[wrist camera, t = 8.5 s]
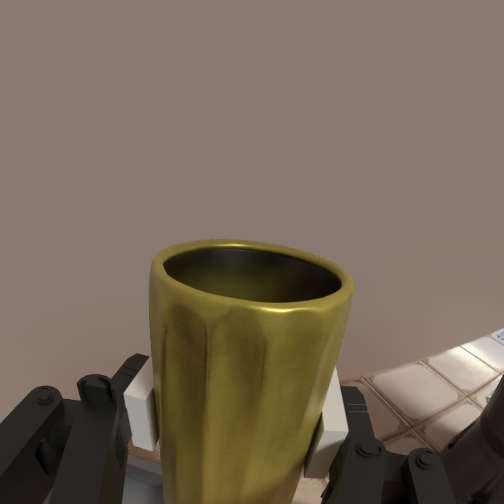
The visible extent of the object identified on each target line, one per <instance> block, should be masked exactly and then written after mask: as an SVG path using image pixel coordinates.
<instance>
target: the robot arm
mask: <svg viewBox="0 0 504 504" xmlns="http://www.w3.org/2000/svg"><path fill="white" fill-rule="evenodd" d="M77 386H78V391H79V395H80V398H81V401H78V400H70V399H63V398H62V396H61V394H60V392H59V391H58V390H57V389H56V388H54V387H51V386H40V387H37V388H35V389H33V390H32V391H31V392H30V393H29V394H28V395H27V396H26V397H25V398H24V399H23V400H22V401H21V402H20V403H19V404H18V405H17V406H16V407H15V409H14V410H13V411H12V412H11V413H10V414H9V415H8V416H7V417H6V418H5V419H4V420H3V422H2V423H1V424H0V504H43V502H44V501H45V499H46V497H47V496H48V494H49V493H50V491H51V489H52V488H53V489H52V493H51V496H50V500H49V504H122V499H123V490H124V481H125V473H126V466H127V459H128V447H127V444H128V442H129V440H130V439H131V437H132V441H133V445H134V446H137V447H140V448H143V449H146V450H149V451H153V450H154V448H155V446H156V444H157V441H158V439H159V431H158V421H157V412H156V403H155V394H154V382H153V368H152V354H151V356H150V357H149V356H145V355H141V354H135V355H133V356H131V357H130V358H128V359H127V360H126V361H125V362H124V364H123V365H122V367H120V369H119V370H118V371H117V373H115V375H114V376H113V377H112V378H111V379H110V378H108V377H107V376H104V375H100V374H91V375H87V376H85V377H83V378H81V379H80V380H79V381H78V382H77ZM365 404H366V403H365V400H364V396H363V394H362V393H361V392H360V391H359V390H358V388H357V387H350V386H340V385H339V380H338V375H337V371H336V366H335V368H334V371H333V375H332V378H331V382H330V385H329V388H328V392H327V396H326V399H325V403H324V406H323V409H322V412H321V416H320V419H319V422H318V425H317V428H316V431H315V434H314V437H313V439H312V442H311V445H310V448H309V451H308V453H307V456H306V459H305V462H304V478H323V479H325V477H326V475H327V474H328V472H329V476H330V481H329V483H328V485H327V486H326V488H325V490H324V491H323V493H322V495H321V496H320V497H322V502H321V504H504V374H503V376H502V378H501V380H500V382H499V384H498V386H497V387H496V389H495V391H494V393H493V395H492V396H491V398H490V400H489V402H488V404H487V405H486V407H485V409H484V410H483V412H482V413H481V415H480V416H479V417H478V418H477V419H475V420H474V421H473V422H472V423H471V424H470V425H468V426H467V427H466V428H465V429H464V430H462V431H461V432H460V433H459V434H457V435H456V436H455V437H454V438H453V439H451V440H450V441H449V443H448V444H447V445H446V446H445V447H444V449H443V450H442V452H441V453H440V454H439V455H438V454H437V453H436V452H435V451H433V450H431V449H428V448H418V449H415V450H413V451H412V452H410V454H409V455H408V456H406V455H401V454H396V453H392V452H389V451H387V450H386V448H385V447H384V445H383V444H382V443H381V442H380V441H379V440H377V439H375V437H374V433H373V429H372V425H371V421H370V418H369V414H368V413H367V407H366V405H365Z"/></svg>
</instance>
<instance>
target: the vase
mask: <svg viewBox="0 0 504 504" xmlns="http://www.w3.org/2000/svg"><path fill="white" fill-rule="evenodd" d="M149 278H150V279H149V316H150V317H149V319H150V340H151V354H152V368H153V382H154V394H155V403H156V412H157V421H158V431H159V443H160V454H161V469H162V483H163V496H164V502H165V504H291V502H292V499H293V496H294V494H295V491H296V488H297V485H298V482H299V479H300V476H301V473H302V471H303V468H304V462H305V459H306V456H307V453H308V451H309V448H310V445H311V442H312V439H313V437H314V434H315V431H316V428H317V425H318V422H319V419H320V416H321V412H322V409H323V406H324V403H325V399H326V396H327V392H328V388H329V385H330V382H331V378H332V375H333V371H334V368H335V365H336V361H337V358H338V355H339V351H340V347H341V344H342V340H343V336H344V332H345V328H346V324H347V320H348V315H349V311H350V307H351V302H352V297H353V293H354V282H353V280H352V277H351V276H350V274H349V273H348V272H347V271H345V270H344V269H343V268H342V267H341V266H339V265H338V264H336V263H334V262H332V261H330V260H327V259H325V258H323V257H320V256H318V255H314V254H312V253H310V252H306V251H302V250H298V249H294V248H290V247H286V246H282V245H277V244H271V243H265V242H257V241H248V240H228V239H211V240H197V241H190V242H185V243H181V244H177V245H173V246H170V247H168V248H166V249H164V250H162V251H160V252H158V253H157V255H156V256H155V257H154V258H153V260H152V264H151V269H150V277H149Z"/></svg>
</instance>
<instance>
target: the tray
mask: <svg viewBox="0 0 504 504" xmlns="http://www.w3.org/2000/svg"><path fill="white" fill-rule="evenodd" d="M52 489H53V488H52ZM52 489H51V491H50V493H49V494H48V496H47V497H46V499H45V501H44V502H43V504H49V500H50V496H51V493H52ZM122 504H165V502H164V496H163V483H162V469H161V464H158V463H155V462H152V461H148V460H145V459H142V458H139V457H136V456H133V455H131V454H128V459H127V466H126V473H125V481H124V490H123V499H122Z"/></svg>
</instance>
